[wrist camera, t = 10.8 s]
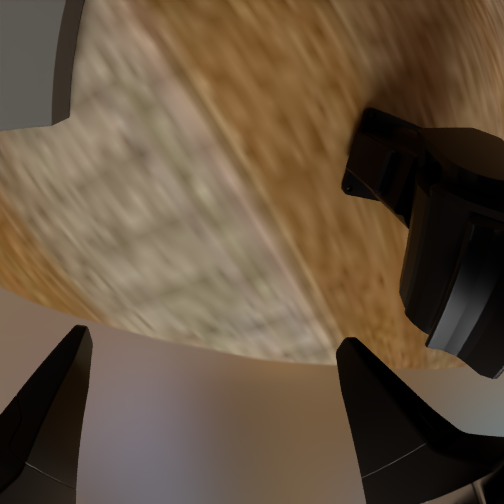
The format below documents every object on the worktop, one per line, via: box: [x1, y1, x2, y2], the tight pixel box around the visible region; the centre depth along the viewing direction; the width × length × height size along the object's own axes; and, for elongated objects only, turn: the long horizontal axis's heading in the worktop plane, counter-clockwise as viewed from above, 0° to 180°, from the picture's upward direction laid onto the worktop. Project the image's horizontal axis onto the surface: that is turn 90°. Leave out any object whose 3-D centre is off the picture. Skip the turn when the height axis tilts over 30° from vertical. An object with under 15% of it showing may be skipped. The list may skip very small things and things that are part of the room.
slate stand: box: [0, 0, 84, 131], centre depth 9 cm, size 10×10×2 cm
